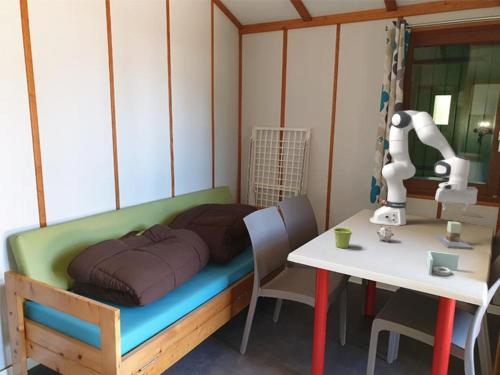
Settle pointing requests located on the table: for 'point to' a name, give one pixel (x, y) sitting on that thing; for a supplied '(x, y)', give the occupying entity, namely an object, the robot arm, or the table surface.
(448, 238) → the walnut cube
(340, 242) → the plant pot
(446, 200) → the robot arm
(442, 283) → the table surface
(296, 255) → the table surface
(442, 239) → the board
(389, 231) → the white spiky ball
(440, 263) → the l-shaped corner panel
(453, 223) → the green cube
